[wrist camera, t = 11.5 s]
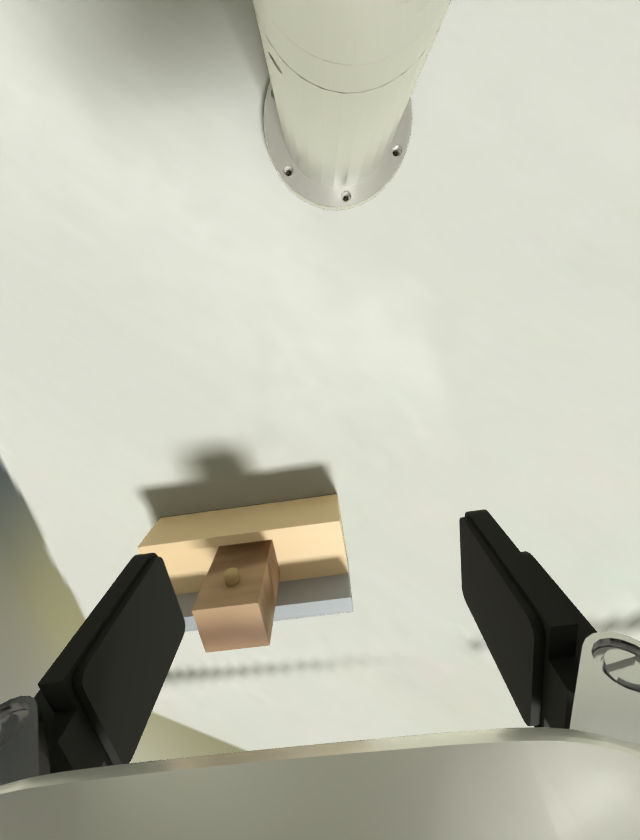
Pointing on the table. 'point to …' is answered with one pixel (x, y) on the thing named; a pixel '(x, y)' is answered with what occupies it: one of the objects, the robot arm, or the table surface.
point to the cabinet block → (238, 597)
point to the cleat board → (281, 522)
